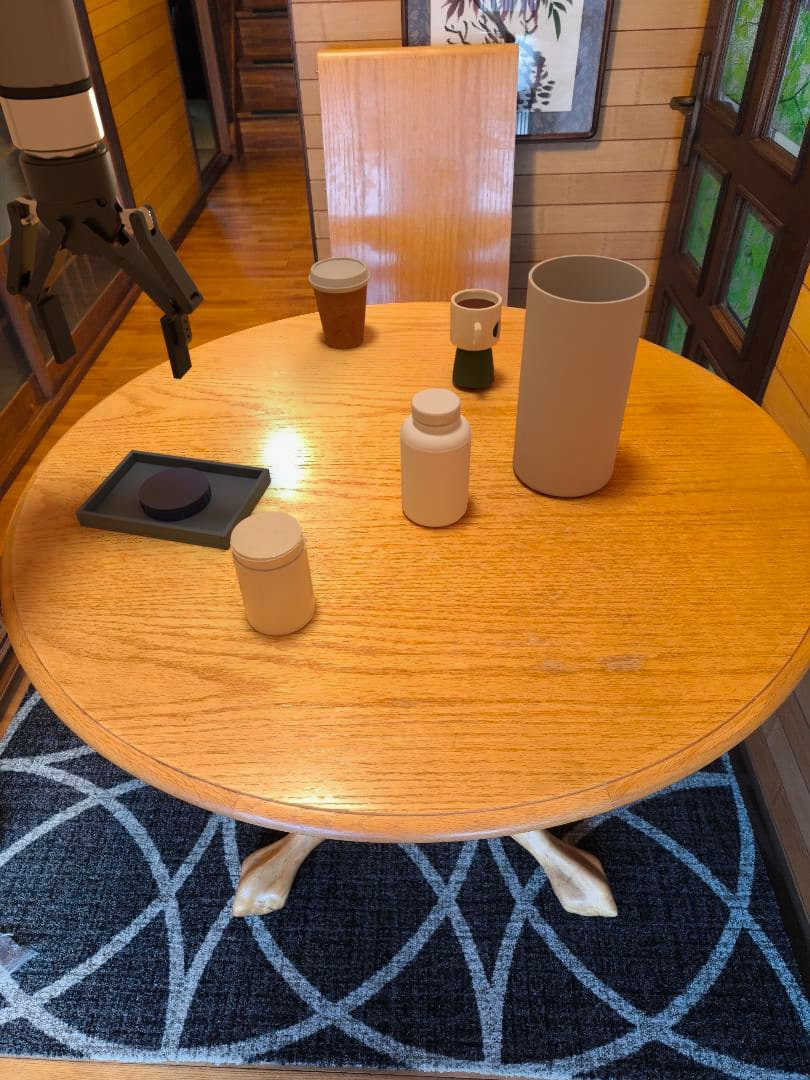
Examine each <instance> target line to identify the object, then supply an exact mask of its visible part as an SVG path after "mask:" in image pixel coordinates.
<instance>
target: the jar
mask: <svg viewBox="0 0 810 1080" xmlns="http://www.w3.org/2000/svg"><path fill="white" fill-rule="evenodd" d="M230 551H231V558H232V562H233V566H234V570H235V574H236V580H237V583H238V586H239V592H240V595H241V599H242V603H243V607H244V612H245V616H246V620H247V622H248V624H249V625H250V626H251V627H252V628H253V630H255V631H256V632H258V633H261V634H264V635H267V636H285V635H289V634H293V633H295V632H297V631H299V630H301V629H302V628H304V627H305V626H307V624H308V623H309V622H310V621H311V620H312V619H313V617H314V615H315V612H316V600H315V593H314V586H313V580H312V573H311V567H310V560H309V554H308V547H307V541H306V538H305V535H304V533H303V528H302V525H301V523H300V522H299V521H298V520H297V518H295V517H294V516H293V515H291V514H288V513H285V512H281V511H261V512H259V513H255V514H252V515H249V517H247V518H245V519H244V520H242V521H241V522H240V523H239V524H238V525H237V526H236V527H235V528H234V530H233V531H232V534H231V541H230Z"/></svg>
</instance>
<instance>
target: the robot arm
mask: <svg viewBox="0 0 810 1080" xmlns="http://www.w3.org/2000/svg"><path fill="white" fill-rule="evenodd" d="M0 105H1V108H2V109H1V110H2V112H3V115H4V118H5V122H6V125H7V128H8V132H9V135H10V138H11V141H12V144H13V146H14V147H16V148H17V149H19V150H21V151H20V153H19V155H18V161H19V164H20V168H21V171H22V175H23V177H24V181H25V183H26V186H27V189H28V193H29V194H27V193H25V194H23V195H21V196H18V197H17V198H15V199H13V200H11V201H9V202H8V203H7V204H6V211H7V215H8V219H9V223H10V237H9V238H10V239H9V249H8V261H7V273H6V285H5V286H6V287H5V288H6V291H7V293H8V294H10V295H11V296H17V295H18V296H21V297H23V298H24V299H25V300H26V302H28V303H29V304H30V306H31V309H32V312H33V315H34V318H35V320H36V323H37V326H38V328H39V329H40V330H41V331H42V332H45V335H46V338H47V340H48V344H49V346H50V349H51V352H52V355H53V358H54V361H55V364H57V365H64V364H65V363H66V362H68V361H69V360H70V359H71V358H72V357H73V356H75V355H76V354H77V348H76V346H75V342H74V339H73V336H72V334H71V329H70V327H69V323H68V321H67V318H66V315H65V311H64V308H63V305H62V303H61V299H60V296H59V294H54V293H51V292H52V291H53V290H54V288H52V287H53V285H54V283H55V281H56V279H57V277H58V275H59V272H60V271H61V269H62V267H63V265H64V262H65V260H66V258H67V256H68V253H69V252H70V253H71V255H72V256H83V255H88V256H91V257H93V258H102V257H105V258H106V259H107V260H108V261H109V262H110V263H111V264H112V265H116V266H119V268H120V269H121V270H122V271H123V272H124V273H125V274H126V275H127V276H128V277H129V278H130V279H131V280H132V281H133V282H134V283H135V285H137V286H138V287H139V289H140V290H141V291H143V293H144V294H145V295H146V296H148V297H149V299H150V300H151V301H152V302H153V303H154V304H155V305H156V306H157V307H158V308H159V309H160V310H161V311H162V312H163V313H164V315H162V316H161V317H160V318H159V323H160V325H161V326H160V327H161V331H162V335H163V338H164V343H165V348H166V352H167V357H168V360H169V364H170V369H171V373H172V377H173V379H174V380H181V379H183V377H184V376H185V375H186V374H187V373H188V372H189V371H190V370H191V369H192V368H193V364H192V360H191V359H192V358H191V354H190V350H189V346H188V345H189V344H190V343H191V342H192V341H193V333H192V328H191V322H190V318H189V315H192V314H193V313H194V312H195V311H196V310H197V309H198V308H199V307H200V306H201V305H202V304H203V303H204V301H205V298H204V296H203V294H202V292H201V291H200V289H199V288H198V286H197V285H196V283H195V281H194V280H193V278H192V277H191V275H190V274H189V272H188V271H187V269H186V267H185V265H184V264H183V263H182V261H181V259H180V258H179V257H178V255H177V253H176V252H175V250H174V249H173V247H172V245H171V244H170V242H169V241H168V239H167V238H166V236H165V235H164V233H163V231H162V230H161V228H160V225H159V221H158V219H157V215H156V212H155V209H154V207H153V206H152V205H150V204H149V203H144V204H141V206H140V207H137V208H124V207H123V206H122V204H121V203H120V200H119V199H118V198H119V197H118V181H117V176H116V173H115V169H114V165H113V164H114V163H113V161H112V157H111V153H110V149H109V147H108V146H107V145H106V144H105V142H103V141H102V140H103V139H104V137H105V129H104V126H103V121H102V117H101V114H100V113H101V112H100V109H99V105H98V102H97V97H96V93H95V88H94V86H93V81H92V77H91V74H90V71H89V67H88V62H87V57H86V54H85V49H84V44H83V40H82V36H81V31H80V27H79V22H78V19H77V13H76V10H75V5H74V0H0ZM39 222H41V223H42V224H43V226H44V227H45V228H46V229H47V230H48V231H49V234H48V236H47V239H46V241H45V243H44V245H43V247H42V250H43V252H42V254H41V256H40V259H39V260H38V263H37V265H36V267H35V260H36V259H35V258H36V250H37V240H38V231H39ZM125 226H127V227H128V231H127V230H126V229H125ZM132 235H134V237H135V238H134V237H133V236H132ZM118 243H119V245H121V247H119V248H117V246H118ZM140 249H141V250H142V251H141V250H140ZM34 267H35V268H34ZM34 269H35V270H34ZM49 293H51V294H49Z"/></svg>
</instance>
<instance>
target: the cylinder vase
mask: <svg viewBox="0 0 810 1080" xmlns="http://www.w3.org/2000/svg"><path fill="white" fill-rule="evenodd" d="M650 284H651V280H650V277H649V275H648V274H647V273H646V272H645V270H643V269H641V268H640V267H639V266H637V265H636V264H633V263H631V262H629V261H625V260H622V259H618V258H614V257H609V256H603V255H595V254H569V255H561V256H555V257H552V258H548V259H545V260H543V261H541V262H539V263H537V264H535V265H533V267H532V268H531V269H530V270H529V272H528V278H527V289H526V290H527V291H526V303H525V314H524V324H523V325H524V326H523V336H522V349H521V359H520V371H519V382H518V393H517V394H518V395H517V405H516V417H515V428H514V429H515V430H514V441H513V452H512V467H513V471H514V473H515V475H516V476H517V477H518V478H519V480H520V481H521V482H522V483H524V484H525V485H526V486H527V487H529V488H531V489H533V490H534V491H537V492H538V493H542V494H544V495H548V496H552V497H560V498H575V497H583V496H587V495H590V494H593V493H595V492H597V491H599V490H600V489H602V488H603V487H605V486H606V485H607V484H608V483H609V481H610V480H611V478H612V476H613V474H614V473H613V472H614V468H615V464H616V458H617V453H618V447H619V444H620V443H619V442H620V439H621V432H622V428H623V423H624V418H625V411H626V408H627V407H626V406H627V401H628V396H629V392H630V386H631V383H632V376H633V372H634V366H635V362H636V356H637V350H638V346H639V340H640V335H641V330H642V325H643V320H644V316H645V315H644V314H645V310H646V305H647V301H648V300H647V299H648V295H649V289H650Z"/></svg>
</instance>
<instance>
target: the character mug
mask: <svg viewBox="0 0 810 1080" xmlns="http://www.w3.org/2000/svg"><path fill="white" fill-rule="evenodd" d="M449 307H450V311H449V313H450V314H449V315H450V316H449V317H450V318H449V341H450V343H451V344H452V346H455V348H456V349H455V355H454V361H453V366H452V377H451V378H452V379H451V380H452V382H453V383H454V384H455V385H456V386H460V387H463V388H471V389H485V388H488V387H490V386H492V385H493V384H494V382H495V365H494V355H493V347H494V346H496V345H497V344H498V343H499V342H500V338H501V330H502V309H503V298H502V296H501V294H499V293H497V292H496V291H493V290H489V289H486V288H467V289H461V290H459V291H457V292H455V293H454V294H452V296H451V298H450V305H449Z"/></svg>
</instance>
